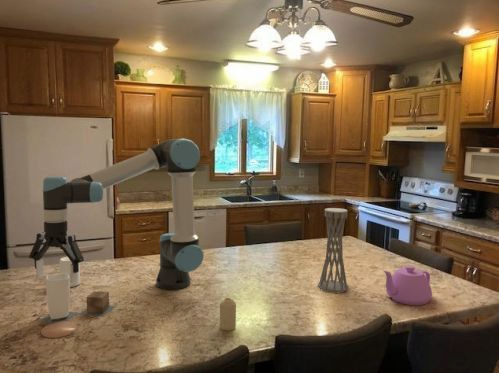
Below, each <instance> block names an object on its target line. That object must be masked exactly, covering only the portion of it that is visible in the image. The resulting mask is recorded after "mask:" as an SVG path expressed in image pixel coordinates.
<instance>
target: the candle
mask: <svg viewBox="0 0 499 373" xmlns="http://www.w3.org/2000/svg"><path fill="white" fill-rule="evenodd" d="M236 316H237V303H236V301H235V300H234V299H231V298H230V297H226V298H224V299H223V300H222V301H221V302H219V329H220V330H223V331H233V330H235V329H236V326H237V325H236V324H237V322H236V321H237V317H236Z"/></svg>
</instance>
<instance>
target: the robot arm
mask: <svg viewBox="0 0 499 373" xmlns="http://www.w3.org/2000/svg"><path fill="white" fill-rule="evenodd" d="M200 159H201V152H200V149H199V147H198V145H197V144H196V143H195V142H194V141H193V140H191V139H187V138H169V139H166V140H165V141H162V142H160V143H158V144H155V145H153V146H152V147H149V148H147V150H146V151H145V152H142V153H140V154H138V155H134V156H132V157H129V158H128V159H125V160H122V161H119V162H117V163H114V164H112V165H109V166H107V167H104V168H101V169H99V170H97V171H95V172H92V173H90V174H87V175H84V176H81V177H76V178H73V179H72V180H70V181H68V180H67V177H65V176H47V177H45V178H44V179H43V181H42V182H43V183H42V184H43V185H42V201H43V203H42V204H43V220H44V222H43V231H42V232H38V233H37V234H36V237H35V238H36V239H35V242H34V245H33V246H32V249H31V251H30V253H29V256H28V258H29V259H32V260H34V269H35V270H36V272H35V274H36V279H37V280H40V279H42V278H43V277H44V276H45V274H44V273H45V272H44V271H45V270H44V259H43V257H44V255H45V254H46V253H47V251H48V250H49V249H50V248H57V249H58V248H59V249H60V250H62V251H63V252H64V254H65V255H66V257H68V258H69V259H70V261H71V262H72V264H70V282H71V283H73V282H75V281H77V272H78V271H79V263H82V262H84V261H85V258H84V255H83V254H82V252H81V249H80V247H79V245H78V242H77V240H76V238H77V237H76V235H75V234H71V235H68V221H67V220H68V204H81V203H82V204H83V203H84V204H86V203H87V204H88V203H91V204H93V203H100V202H101V201H102V200H103V196H104V190H105V189H107V188H110V187H112V186H114V185H117V184H119V183H120V184H121V183H122V182H124V181H126V180H129V179H132V178H134V177H137V176H139V175H141V174H143V173H146V172H148V171H151V170H154V169H155V170H160V169H162V168H166V172H167V174H168V175H169V176H170V177H171V178H170V179H171V194H172V198H171V199H172V216H173V217H172V218H173V221H172V222H173V224H172V225H173V232H167V233H163V234H161V235H160V237H159V270H158V274H157V276H156V280H155V285H156V287H157V288H159V289H163V290H169V291H170V290H181V289H184V288H187V287H189V286H190V285H191V276H190V273H189V272H191V273H192V272H194V271H196V270H197V269H199V267H200V266H201V265H202V263H203V261H204V251H203V250H202V248H201V246H200V240H199V238H200V237H199V235H197V233H196V230H195V204H194V202H195V201H194V198H195V197H194V179H193V178H194V175H195V174H196V173H197V165H198V163H199V162H200ZM44 240H45V242H44ZM43 242H44V243H43ZM42 244H43V245H42Z"/></svg>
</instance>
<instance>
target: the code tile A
mask: <svg viewBox="0 0 499 373" xmlns="http://www.w3.org/2000/svg"><path fill="white" fill-rule="evenodd" d="M79 313H80V312H78V311H77V312H76V311H75V312H74V311H69V315H68V316H67V317H66V318H62V319H56V320H53V319H51V318H50V315H49V314H47V315H45V316H44V317H42V318H40V319H39V320H37V322H41V323H49V324H53V323H57V322H64V321H71V319H73V318H74V317H76V316H78V315H80V314H79Z"/></svg>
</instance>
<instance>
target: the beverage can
mask: <svg viewBox="0 0 499 373" xmlns="http://www.w3.org/2000/svg"><path fill="white" fill-rule="evenodd" d="M80 263H81V262H80ZM80 263H79V271H78V272H77V281H75V282H73V283H71V282H70V288H75V287H77V286H78V285H80V284H81V270H80V269H81V267H80ZM70 264H72V262H71V261H70V259H69V258H68V257H67V256H64V257H61V258H60V260H59V262H58V265H59V274H60V273H67V274H68V275H69V277H70Z"/></svg>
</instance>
